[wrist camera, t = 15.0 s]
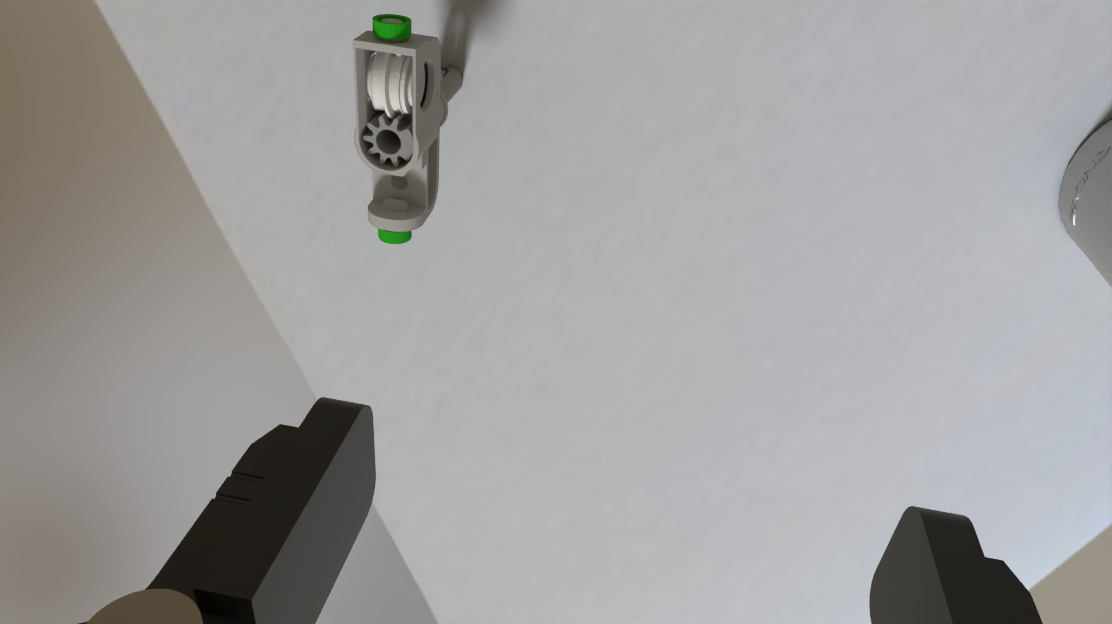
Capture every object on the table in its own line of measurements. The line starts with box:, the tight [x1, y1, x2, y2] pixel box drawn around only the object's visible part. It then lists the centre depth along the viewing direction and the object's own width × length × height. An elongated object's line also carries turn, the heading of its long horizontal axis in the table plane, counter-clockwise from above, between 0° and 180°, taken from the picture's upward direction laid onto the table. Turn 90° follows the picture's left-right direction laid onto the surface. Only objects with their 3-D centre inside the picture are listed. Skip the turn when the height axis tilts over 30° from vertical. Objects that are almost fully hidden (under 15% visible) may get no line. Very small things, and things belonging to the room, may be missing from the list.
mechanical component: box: [353, 14, 462, 244], centre depth 39 cm, size 3×10×10 cm, turn 174°
